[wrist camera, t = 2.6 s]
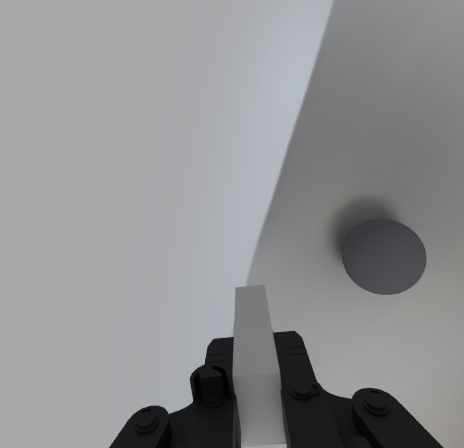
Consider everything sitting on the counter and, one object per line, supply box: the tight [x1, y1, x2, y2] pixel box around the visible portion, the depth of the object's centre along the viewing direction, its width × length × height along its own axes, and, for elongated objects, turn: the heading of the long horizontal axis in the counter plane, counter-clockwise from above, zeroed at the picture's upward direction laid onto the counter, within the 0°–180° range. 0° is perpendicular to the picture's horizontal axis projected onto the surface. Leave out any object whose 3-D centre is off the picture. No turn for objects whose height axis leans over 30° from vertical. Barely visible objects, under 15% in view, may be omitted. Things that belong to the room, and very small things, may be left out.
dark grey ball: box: [342, 219, 426, 295], centre depth 22 cm, size 6×6×6 cm
